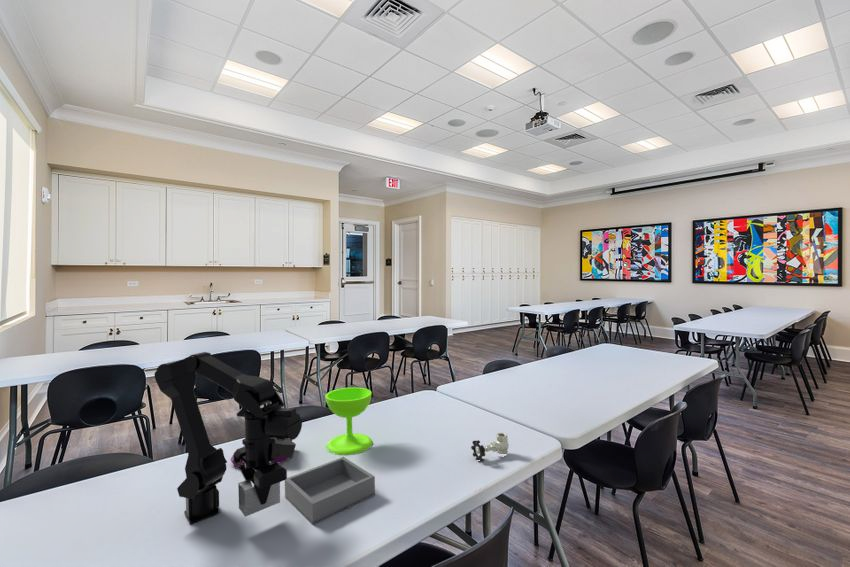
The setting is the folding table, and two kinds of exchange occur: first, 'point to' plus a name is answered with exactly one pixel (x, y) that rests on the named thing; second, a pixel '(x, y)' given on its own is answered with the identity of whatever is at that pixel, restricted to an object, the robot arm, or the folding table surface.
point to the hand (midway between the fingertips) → (259, 499)
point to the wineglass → (348, 419)
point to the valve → (491, 446)
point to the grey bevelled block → (250, 500)
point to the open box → (329, 489)
